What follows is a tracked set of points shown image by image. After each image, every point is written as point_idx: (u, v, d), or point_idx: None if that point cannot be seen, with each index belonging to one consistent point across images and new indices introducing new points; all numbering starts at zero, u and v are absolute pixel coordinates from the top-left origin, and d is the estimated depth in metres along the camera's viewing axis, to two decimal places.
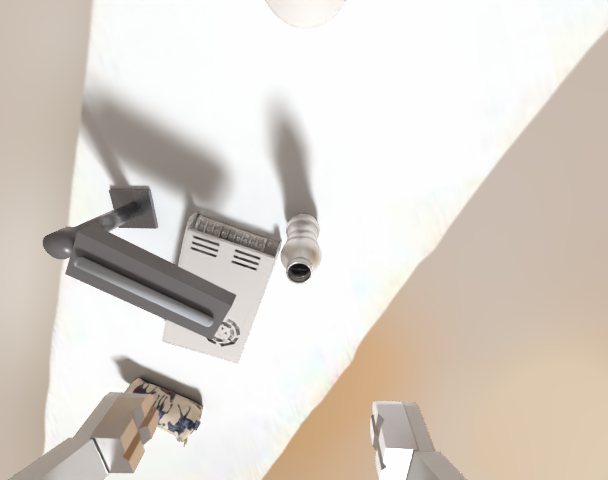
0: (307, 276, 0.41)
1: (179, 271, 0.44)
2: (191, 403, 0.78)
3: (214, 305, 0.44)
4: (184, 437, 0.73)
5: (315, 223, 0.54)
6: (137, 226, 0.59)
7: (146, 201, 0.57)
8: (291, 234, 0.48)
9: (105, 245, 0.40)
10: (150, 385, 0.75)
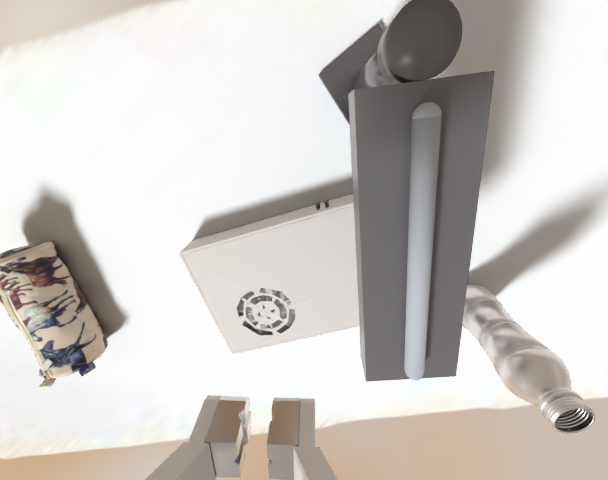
0: (556, 421, 0.28)
1: None
2: (99, 332, 0.47)
3: (441, 358, 0.24)
4: (54, 375, 0.42)
5: None
6: (340, 104, 0.34)
7: None
8: (518, 327, 0.34)
9: (484, 144, 0.18)
10: (64, 267, 0.42)
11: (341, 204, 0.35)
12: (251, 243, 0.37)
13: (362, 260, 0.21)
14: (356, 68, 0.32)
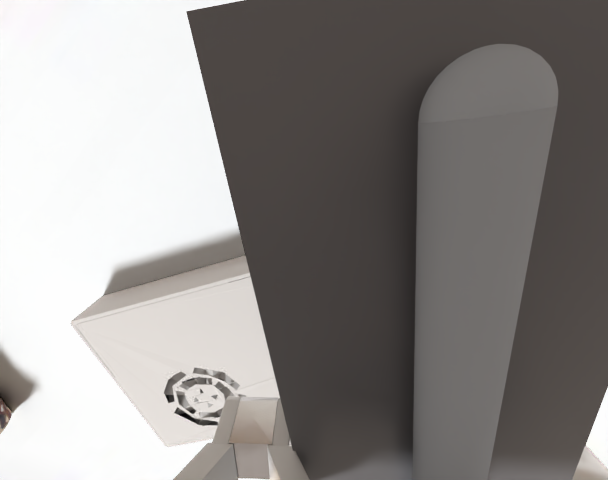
0: None
1: None
2: None
3: None
4: None
5: None
6: None
7: None
8: (584, 452, 0.21)
9: None
10: None
11: None
12: (172, 310, 0.25)
13: None
14: None
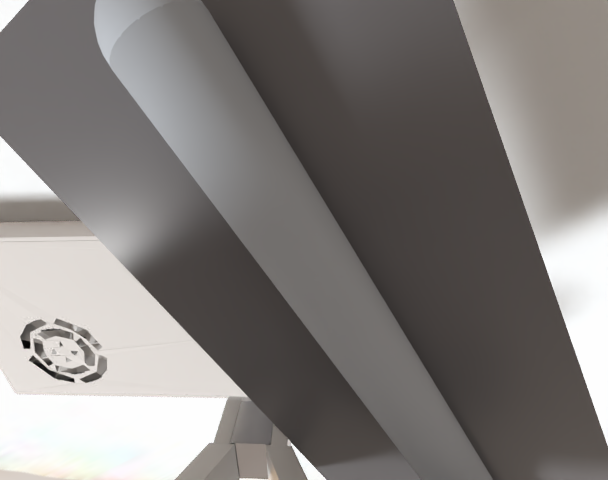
0: None
1: None
2: None
3: None
4: None
5: None
6: None
7: None
8: None
9: (459, 24, 0.04)
10: None
11: None
12: (39, 254, 0.24)
13: (294, 441, 0.09)
14: None
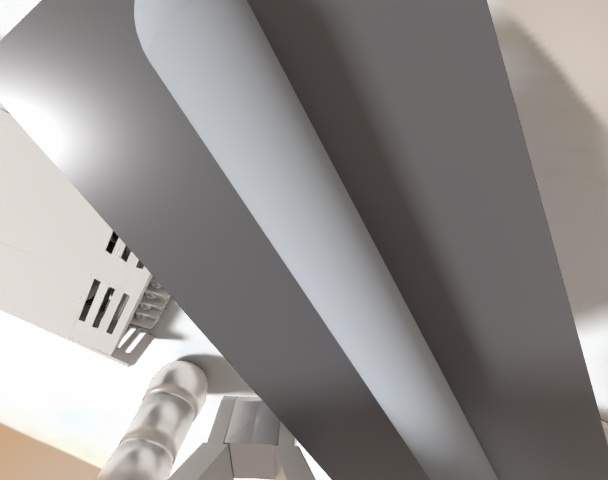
0: None
1: None
2: None
3: None
4: None
5: None
6: None
7: None
8: (162, 461, 0.24)
9: (491, 29, 0.05)
10: None
11: None
12: None
13: (301, 440, 0.09)
14: None
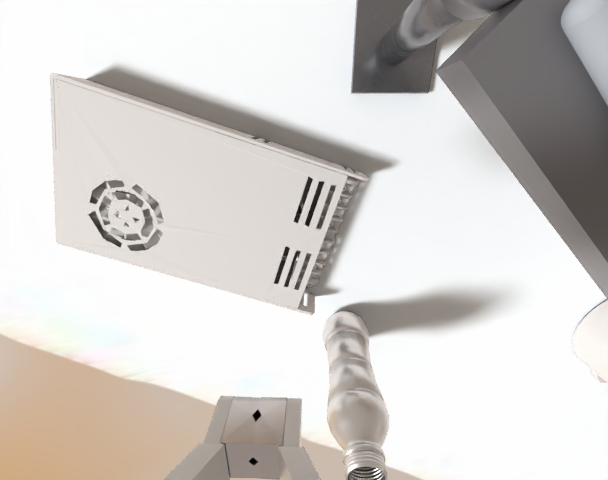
0: (350, 472, 0.25)
1: None
2: None
3: None
4: None
5: None
6: (358, 49, 0.28)
7: (407, 84, 0.29)
8: (371, 370, 0.32)
9: None
10: None
11: (279, 148, 0.29)
12: (153, 123, 0.28)
13: (584, 226, 0.15)
14: None
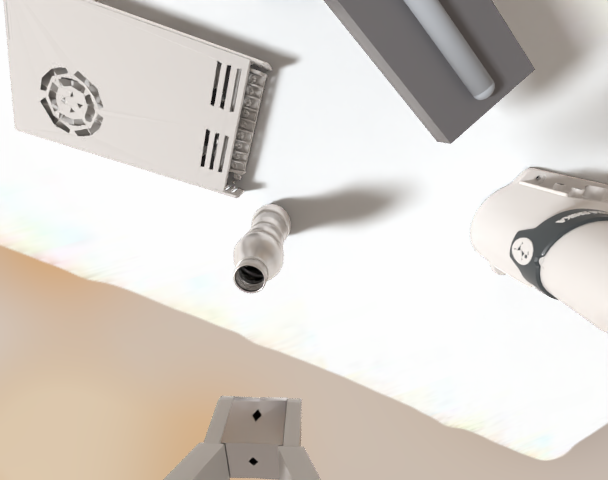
0: (242, 283, 0.32)
1: None
2: None
3: (504, 60, 0.23)
4: None
5: None
6: None
7: None
8: (278, 231, 0.39)
9: None
10: None
11: (193, 36, 0.36)
12: (86, 13, 0.35)
13: (358, 24, 0.22)
14: None
